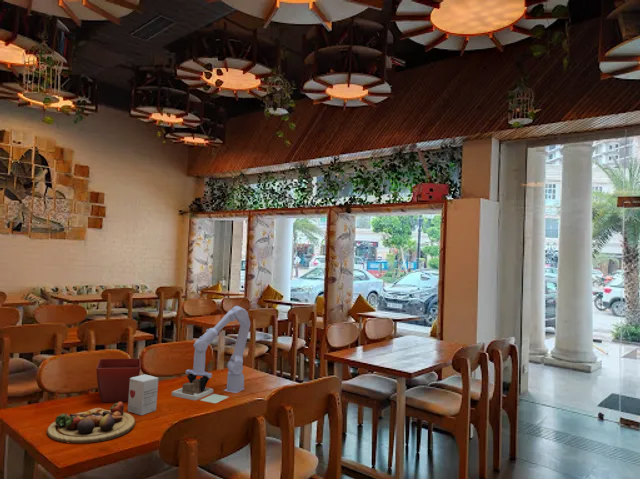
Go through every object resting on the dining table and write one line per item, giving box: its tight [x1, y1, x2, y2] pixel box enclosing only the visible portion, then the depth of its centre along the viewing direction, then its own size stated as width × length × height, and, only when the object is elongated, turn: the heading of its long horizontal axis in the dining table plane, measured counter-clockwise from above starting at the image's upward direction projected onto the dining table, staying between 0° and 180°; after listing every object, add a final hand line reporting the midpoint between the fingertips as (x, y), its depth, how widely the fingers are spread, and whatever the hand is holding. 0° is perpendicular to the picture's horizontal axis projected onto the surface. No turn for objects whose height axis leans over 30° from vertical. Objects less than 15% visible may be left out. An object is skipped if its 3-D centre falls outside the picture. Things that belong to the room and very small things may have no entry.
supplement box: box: [127, 374, 160, 416], centre depth 218 cm, size 9×9×15 cm
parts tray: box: [171, 386, 214, 401], centre depth 245 cm, size 15×14×2 cm
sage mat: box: [200, 393, 229, 404], centre depth 240 cm, size 12×9×1 cm
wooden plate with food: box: [46, 401, 136, 444], centre depth 196 cm, size 32×32×8 cm
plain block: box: [181, 382, 194, 395], centre depth 241 cm, size 4×4×6 cm
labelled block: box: [192, 378, 203, 394], centre depth 249 cm, size 4×4×6 cm
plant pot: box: [95, 358, 142, 403], centre depth 234 cm, size 19×19×17 cm
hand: (197, 389), depth 248 cm, fingers open, 5 cm apart
